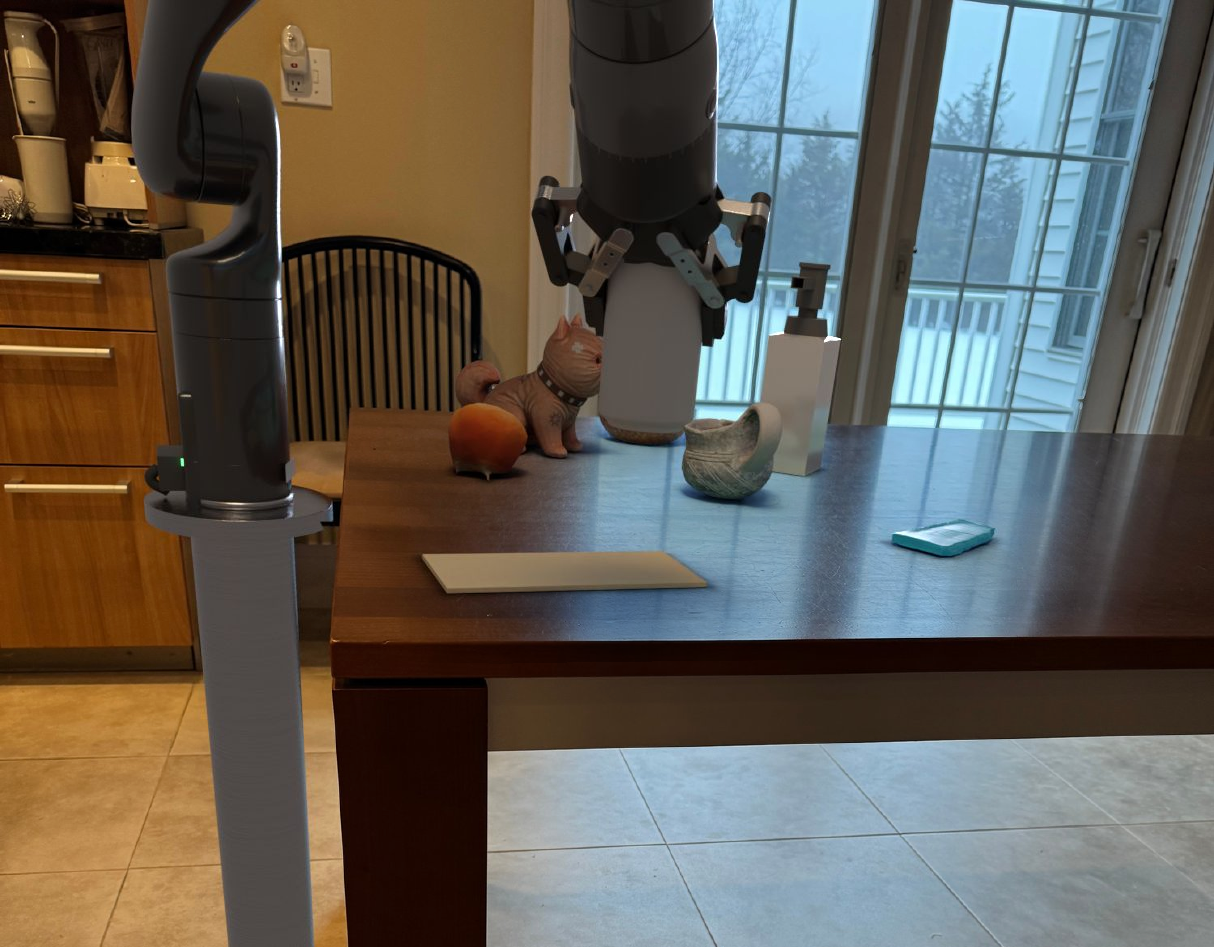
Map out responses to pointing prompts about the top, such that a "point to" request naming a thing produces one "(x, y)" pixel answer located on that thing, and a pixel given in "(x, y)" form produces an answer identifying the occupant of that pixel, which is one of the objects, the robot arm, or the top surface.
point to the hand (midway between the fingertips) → (656, 330)
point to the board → (559, 571)
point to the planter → (639, 434)
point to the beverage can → (650, 349)
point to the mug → (732, 452)
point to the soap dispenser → (802, 376)
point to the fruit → (485, 439)
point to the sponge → (945, 537)
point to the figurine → (543, 387)
